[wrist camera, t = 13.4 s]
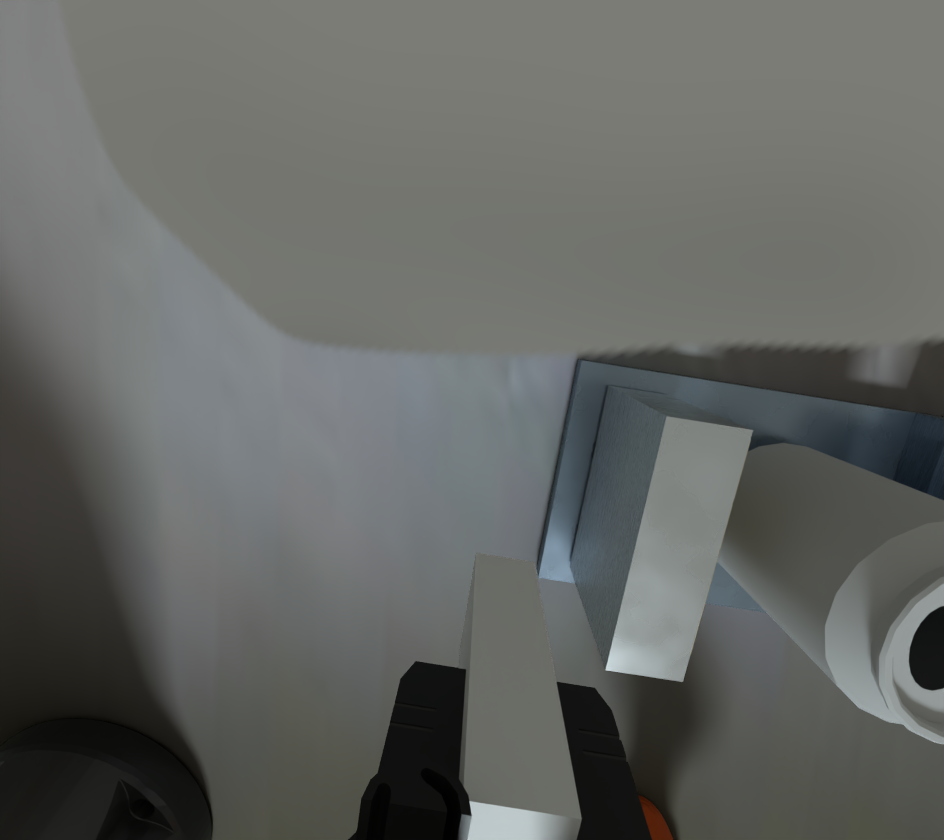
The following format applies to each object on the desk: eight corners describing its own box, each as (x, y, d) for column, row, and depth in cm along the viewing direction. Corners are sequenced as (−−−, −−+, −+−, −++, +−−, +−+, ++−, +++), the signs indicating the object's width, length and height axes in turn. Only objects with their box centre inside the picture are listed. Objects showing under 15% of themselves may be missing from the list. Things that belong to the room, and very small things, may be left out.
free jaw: (569, 567, 27) (605, 670, 19) (608, 385, 25) (666, 416, 17) (635, 576, 27) (698, 684, 19) (679, 396, 25) (770, 432, 17)
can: (699, 438, 25) (886, 542, 14) (847, 438, 25) (1167, 544, 13) (686, 572, 27) (845, 770, 15) (826, 574, 27) (1098, 775, 15)
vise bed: (536, 568, 28) (561, 683, 19) (578, 358, 26) (627, 380, 17) (881, 621, 28) (1062, 759, 19) (955, 418, 26) (1200, 470, 17)
